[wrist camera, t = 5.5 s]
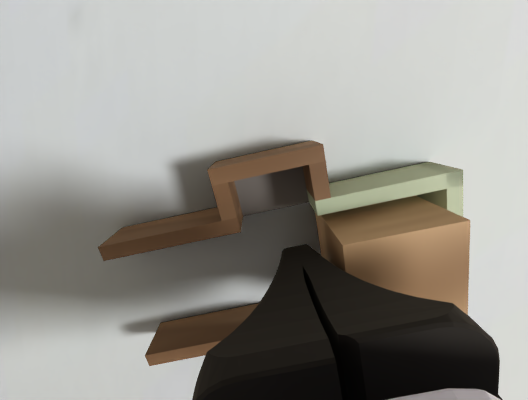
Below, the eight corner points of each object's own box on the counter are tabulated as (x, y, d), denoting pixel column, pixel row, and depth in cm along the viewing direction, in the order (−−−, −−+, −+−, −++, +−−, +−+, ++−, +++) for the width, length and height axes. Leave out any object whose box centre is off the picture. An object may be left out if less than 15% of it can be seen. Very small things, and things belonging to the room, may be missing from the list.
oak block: (404, 266, 13) (467, 324, 9) (325, 281, 13) (354, 346, 9) (401, 189, 12) (470, 220, 8) (314, 206, 12) (342, 245, 8)
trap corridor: (434, 311, 14) (462, 341, 12) (175, 361, 15) (163, 398, 13) (427, 114, 11) (463, 113, 9) (106, 185, 12) (76, 198, 10)
